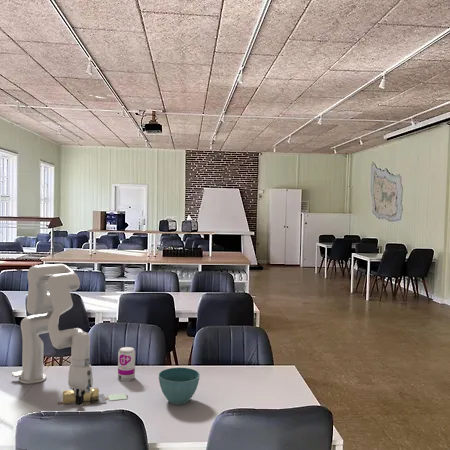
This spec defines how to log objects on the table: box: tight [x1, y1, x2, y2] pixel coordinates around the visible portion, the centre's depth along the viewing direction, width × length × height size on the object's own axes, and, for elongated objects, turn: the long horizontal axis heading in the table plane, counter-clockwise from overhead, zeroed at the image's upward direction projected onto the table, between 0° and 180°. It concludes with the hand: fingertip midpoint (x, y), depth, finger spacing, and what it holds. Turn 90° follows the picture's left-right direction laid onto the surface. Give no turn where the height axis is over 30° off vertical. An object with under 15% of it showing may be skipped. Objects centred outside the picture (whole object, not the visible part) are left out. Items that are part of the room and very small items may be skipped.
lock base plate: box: [82, 393, 107, 406], centre depth 219 cm, size 10×10×1 cm
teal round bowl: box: [158, 367, 200, 405], centre depth 221 cm, size 18×18×12 cm
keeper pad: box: [107, 393, 128, 402], centre depth 223 cm, size 8×6×1 cm
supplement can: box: [117, 346, 136, 382], centre depth 247 cm, size 8×8×15 cm
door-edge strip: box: [57, 394, 128, 405], centre depth 219 cm, size 30×2×1 cm, turn 110°
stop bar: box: [62, 387, 100, 405], centre depth 217 cm, size 15×4×4 cm, turn 110°
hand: (79, 403), depth 211 cm, fingers closed
